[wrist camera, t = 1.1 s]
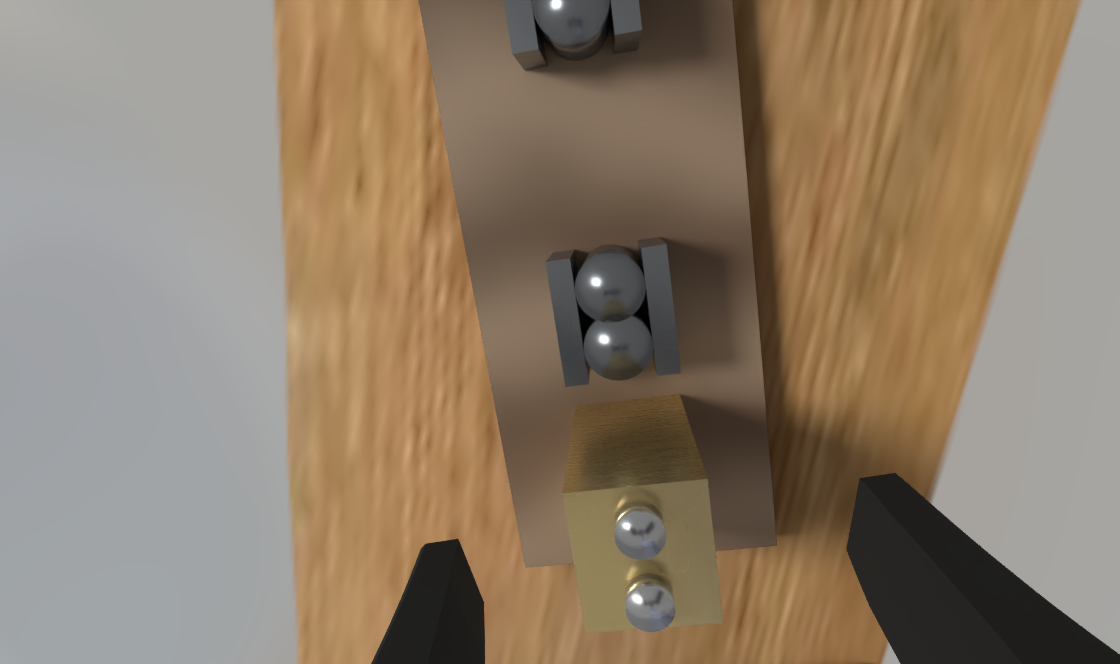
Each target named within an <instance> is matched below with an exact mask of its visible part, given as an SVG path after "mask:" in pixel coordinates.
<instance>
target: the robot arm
mask: <svg viewBox="0 0 1120 664" xmlns="http://www.w3.org/2000/svg"><path fill="white" fill-rule="evenodd" d="M847 552H848V554H849V557H850V560H851V562H852V565H853V567H854V570H855V572H856V575H857V577H858V580H859V582H860V584H861V587H862V589H863V592H864V594H865V596H866V599H867V601H868V603H869V606H870V608H871V610H872V612H873V613H874V615H875V617H876V619H877V621H878V623H879V625H880V627H881V628H882V630H883V632H884V634H885V636H886V638H887V640H888V641H889V643H890V645H891V647H892V649H893V651H894V652H895V654H896V656H897V658H898V660H899V662H900V663H901V664H1120V654H1118V653H1117V652H1116V651H1114V650H1113V649H1111V648H1110V647H1109V646H1107V645H1106V644H1105V643H1103V642H1102V641H1100V640H1099V639H1098V638H1096V637H1095V636H1094V635H1092V634H1091V633H1090V632H1088V631H1087V630H1086V629H1084V628H1083V627H1082V626H1080V625H1079V624H1077V623H1076V622H1075V621H1074V620H1072V619H1071V618H1070V617H1068V616H1067V615H1065V614H1064V613H1063V612H1062V611H1060V610H1059V609H1057V608H1056V607H1055V606H1053V605H1052V604H1051V603H1050V602H1048V601H1047V600H1046V599H1045V598H1043V597H1042V596H1041V595H1040V594H1038V593H1037V592H1035V590H1033V589H1032V588H1031V587H1029V586H1028V585H1027V584H1026V583H1024V582H1023V581H1022V580H1021V579H1020V578H1018V577H1017V576H1016V575H1014V573H1012V572H1011V571H1010V570H1008V569H1007V568H1006V567H1005V566H1004V565H1002V564H1001V563H1000V562H999V561H997V560H996V559H995V558H994V557H993V556H991V555H990V554H988V552H986V551H985V550H984V549H983V548H982V547H981V546H979V545H978V544H977V543H976V542H974V541H973V540H972V539H971V538H970V537H969V536H968V535H966V534H965V533H964V532H963V531H962V530H961V529H959V528H958V527H957V526H956V525H955V524H953V523H952V522H951V521H950V520H949V519H948V518H947V517H945V516H944V515H943V514H942V513H941V512H940V511H938V510H937V509H936V508H935V507H934V506H933V505H932V504H931V503H929V502H928V501H927V500H926V499H925V498H924V497H923V496H921V495H920V494H919V493H918V492H917V491H916V490H915V489H913V488H912V487H911V486H910V485H909V484H908V483H907V482H905V481H904V480H903V479H902V478H901V477H900V476H898V475H897V474H896V473H892V474H885V475H878V476H872V477H865V478H860V480H859V486H858V491H857V496H856V501H855V507H854V512H853V517H852V522H851V528H850V533H849V538H848V544H847ZM371 664H485V628H484V601H483V599H482V597H481V594H480V592H479V589H478V587H477V584H476V582H475V579H474V577H473V574H472V572H471V569H470V567H469V564H468V562H467V559H466V557H465V554H464V552H463V549H462V547H461V544H460V542H459V539H454V540H448V541H441V542H434V543H428V544H425V545H424V546H423V547H422V548H421V550H420V553H419V555H418V558H417V561H416V563H415V566H414V568H413V571H412V573H411V576H410V578H409V581H408V583H407V586H406V588H405V590H404V593H403V595H402V598H401V600H400V602H399V604H398V607H397V609H396V611H395V614H394V616H393V618H392V620H391V623H390V625H389V627H388V629H387V632H386V634H385V636H384V638H383V640H382V642H381V644H380V646H379V648H378V651H377V653H376V655H375V657H374V659H373V661H372V663H371Z"/></svg>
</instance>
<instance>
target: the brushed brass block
mask: <svg viewBox="0 0 1120 664" xmlns="http://www.w3.org/2000/svg"><path fill="white" fill-rule="evenodd" d="M562 495H563V501H564V507H565V513H566V519H567V525H568V531H569V537H570V543H571V549H572V555H573V561H574V567H575V573H576V579H577V585H578V591H579V597H580V603H581V609H582V615H583V621H584V626H585V632H586V633H596V632H609V631H623V630H636V629H640V630H643V631H648V632H654V631H659V630H662V629H664V628H666V627H676V626H689V625H703V624H716V623H723V618H722V608H721V599H720V590H719V581H718V571H717V562H716V553H715V544H714V534H713V525H712V516H711V506H710V497H709V488H708V479H707V476H706V473H705V470H704V467H703V464H702V461H701V458H700V455H699V452H698V449H697V446H696V443H695V440H694V436H693V433H692V430H691V427H690V424H689V421H688V418H687V415H686V412H685V409H684V406H683V403H682V400H681V397H680V394H674V395H665V396H657V397H648V398H640V399H631V400H623V401H614V402H606V403H597V404H589V405H580V406H576V407H575V413H574V420H573V426H572V433H571V439H570V446H569V452H568V459H567V465H566V472H565V478H564V485H563V491H562Z"/></svg>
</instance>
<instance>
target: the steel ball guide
mask: <svg viewBox="0 0 1120 664" xmlns="http://www.w3.org/2000/svg"><path fill="white" fill-rule="evenodd" d="M504 6H505V12H506V18H507V25H508V31H509V37H510V43H511V50H512V54H513V56H514V57H515V58H516V60H517V61H518V62H519V64H520V65H521V66H522V68H523V69H524V70H531V69H536V68H542V67H547V59H546V52H545V46H544V39H545V41H546V43H547V45H548V46H549V48H550V49H551V50H552V51H553V52H554V53H555V54H556V55H558V56H559V57H561V58H563V59H566V60H571V61H580V60H584V59H587V58H589V57H591V56H593V55H594V54H595V53H597V52H598V51H599V50H600V49H601V47H602V46H603V45H604V43H605V41H606V39H607V37H608V33H609V29H610V24H611V32H612V40H613V48H614V54H618V53H624V52H629V51H635V50H638V47H639V43H640V38H641V33H642V24H641V15H640V6H639V0H504ZM543 37H544V39H543ZM637 241H638V249H639V257H640V264H639V262H638V260H637V259H636V257H635V256H634V255H633V254H632V253H631V252H630V251H629V250H627V249H626V248H624V247H622V246H619V245H612V244H609V245H602V246H599V247H597V248H595V249H593V250H592V251H590V252H589V253H588V254H587V255H586V257H585V258H584V260H583V261H582V263H581V266H580V269H579V272H578V269H577V262H576V255H575V249H574V250H567V251H560V252H553V253H552V254H551V256H550V257H549V258H548V259H547V261H546V262H545V263H546V269H547V275H548V282H549V288H550V294H551V300H552V307H553V313H554V319H555V325H556V332H557V338H558V344H559V350H560V357H561V363H562V369H563V375H564V382H565V387H572V386H580V385H588V384H589V378H590V368H592V369H593V370H594V371H595V372H596V373H597V374H598V375H600V376H602V377H604V378H606V379H610V380H617V381H620V380H627V379H630V378H633V377H635V376H637V375H638V374H640V373H641V372H642V371H643V370H644V369H645V368H646V367H647V365H648V364H649V362H650V360H651V357H652V358H653V362H654V366H655V370H656V374H657V376H662V375H671V374H679V373H681V367H680V358H679V349H678V340H677V331H676V323H675V314H674V305H673V296H672V288H671V279H670V270H669V261H668V252H667V244H666V243H665V242H664V241H663V240H662V239H661V238H660V237H655V238H648V239H642V240H637ZM640 266H641V267H640ZM644 298H645V306H646V314H647V319H646V316H645V314H644V312H643V311H642V310H641V309H640V306H641V304H642V302H643V300H644ZM584 312H585V313H586V314H587V315H588V316H589V318H588V321H587V327H586V323H585V316H584Z"/></svg>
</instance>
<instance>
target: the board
mask: <svg viewBox="0 0 1120 664" xmlns="http://www.w3.org/2000/svg"><path fill="white" fill-rule="evenodd" d="M419 6H420V11H421V16H422V21H423V27H424V32H425V37H426V43H427V48H428V53H429V59H430V64H431V69H432V75H433V80H434V85H435V90H436V96H437V101H438V106H439V112H440V117H441V122H442V128H443V133H444V138H445V143H446V149H447V154H448V159H449V165H450V170H451V175H452V181H453V186H454V191H455V197H456V202H457V207H458V212H459V218H460V223H461V228H462V234H463V239H464V244H465V250H466V255H467V260H468V265H469V271H470V276H471V281H472V287H473V292H474V297H475V303H476V308H477V313H478V318H479V324H480V329H481V334H482V340H483V345H484V350H485V356H486V361H487V366H488V372H489V377H490V382H491V387H492V393H493V398H494V403H495V409H496V414H497V419H498V425H499V430H500V435H501V440H502V446H503V451H504V456H505V462H506V467H507V472H508V478H509V483H510V488H511V494H512V499H513V504H514V509H515V515H516V520H517V525H518V531H519V536H520V541H521V547H522V552H523V557H524V562H525V568H529V567H540V566H551V565H563V564H574V561H573V555H572V549H571V543H570V537H569V531H568V525H567V519H566V513H565V507H564V501H563V495H562V491H563V485H564V478H565V472H566V465H567V459H568V452H569V446H570V439H571V433H572V426H573V420H574V413H575V407H576V406H580V405H589V404H597V403H606V402H614V401H623V400H631V399H640V398H648V397H657V396H665V395H674V394H680V397H681V400H682V403H683V406H684V409H685V412H686V415H687V418H688V421H689V424H690V427H691V430H692V433H693V436H694V440H695V443H696V446H697V449H698V452H699V455H700V458H701V461H702V464H703V467H704V470H705V473H706V476H707V479H708V488H709V497H710V506H711V516H712V525H713V534H714V544H715V551H722V550H733V549H744V548H756V547H767V546H777V539H776V527H775V514H774V502H773V490H772V478H771V466H770V453H769V441H768V429H767V417H766V405H765V392H764V380H763V368H762V356H761V343H760V331H759V319H758V307H757V295H756V282H755V270H754V258H753V246H752V234H751V221H750V209H749V197H748V185H747V173H746V160H745V148H744V136H743V124H742V112H741V99H740V87H739V75H738V63H737V51H736V38H735V26H734V14H733V2H732V0H639V6H640V15H641V24H642V33H641V38H640V43H639V47H638V50H635V51H629V52H624V53H618V54H614V48H613V40H612V32H611V24H610V29H609V33H608V37H607V39H606V41H605V43H604V45H603V46H602V47H601V49H600V50H599V51H598V52H597V53H595V54H594V55H593V56H591V57H589V58H587V59H584V60H580V61H571V60H566V59H563V58H561V57H559V56H558V55H556V54H555V53H554V52H553V51H552V50H551V49H550V48H549V46H548V45H547V43H546V41H545V39H544V37H543V39H544V46H545V52H546V59H547V67H542V68H536V69H531V70H524V69H523V68H522V66H521V65H520V64H519V62H518V61H517V60H516V58H515V57H514V56H513V54H512V50H511V43H510V37H509V31H508V25H507V18H506V12H505V6H504V0H419ZM655 237H660V238H661V239H662V240H663V241H664V242H665V243H666V244H667V252H668V261H669V270H670V279H671V288H672V296H673V305H674V314H675V323H676V331H677V340H678V349H679V358H680V367H681V373H679V374H671V375H662V376H657V374H656V370H655V366H654V362H653V358H652V357H651V360H650V362H649V364H648V365H647V367H646V368H645V369H644V370H643V371H642V372H641V373H640V374H638V375H637V376H635V377H633V378H630V379H627V380H620V381H617V380H610V379H606V378H604V377H602V376H600V375H598V374H597V373H596V372H595V371H594V370H593V369H592V368H590V378H589V384H588V385H580V386H572V387H565V382H564V375H563V369H562V363H561V357H560V350H559V344H558V338H557V332H556V325H555V319H554V313H553V307H552V300H551V294H550V288H549V282H548V275H547V269H546V263H545V262H546V261H547V259H548V258H549V257H550V256H551V254H552V253H553V252H560V251H567V250H574V249H575V255H576V262H577V269H578V272H579V269H580V266H581V263H582V261H583V260H584V258H585V257H586V255H587V254H588V253H589V252H590V251H592V250H593V249H595V248H597V247H599V246H602V245H609V244H612V245H619V246H622V247H624V248H626V249H627V250H629V251H630V252H631V253H632V254H633V255H634V256H635V257H636V259H637V260H638V262H639V264H640V257H639V249H638V241H637V240H642V239H648V238H655ZM640 267H641V266H640ZM640 309H641V310H642V311H643V312H644V314H645V316H646V319H647V314H646V306H645V298H644V300H643V302H642V304H641V306H640ZM584 316H585V323H586V327H587V321H588V318H589V316H588V315H587V314H586V313H585V312H584Z"/></svg>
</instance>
